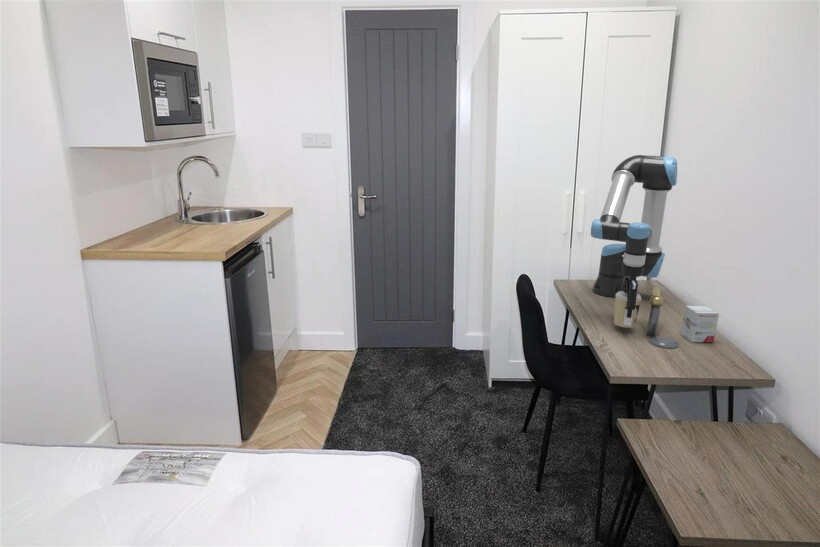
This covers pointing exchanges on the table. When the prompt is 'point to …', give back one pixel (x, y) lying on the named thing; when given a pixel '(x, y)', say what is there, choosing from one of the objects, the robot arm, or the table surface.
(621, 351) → the table surface
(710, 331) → the ink box
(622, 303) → the coffee cup
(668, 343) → the disc
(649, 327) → the post
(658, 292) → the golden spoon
